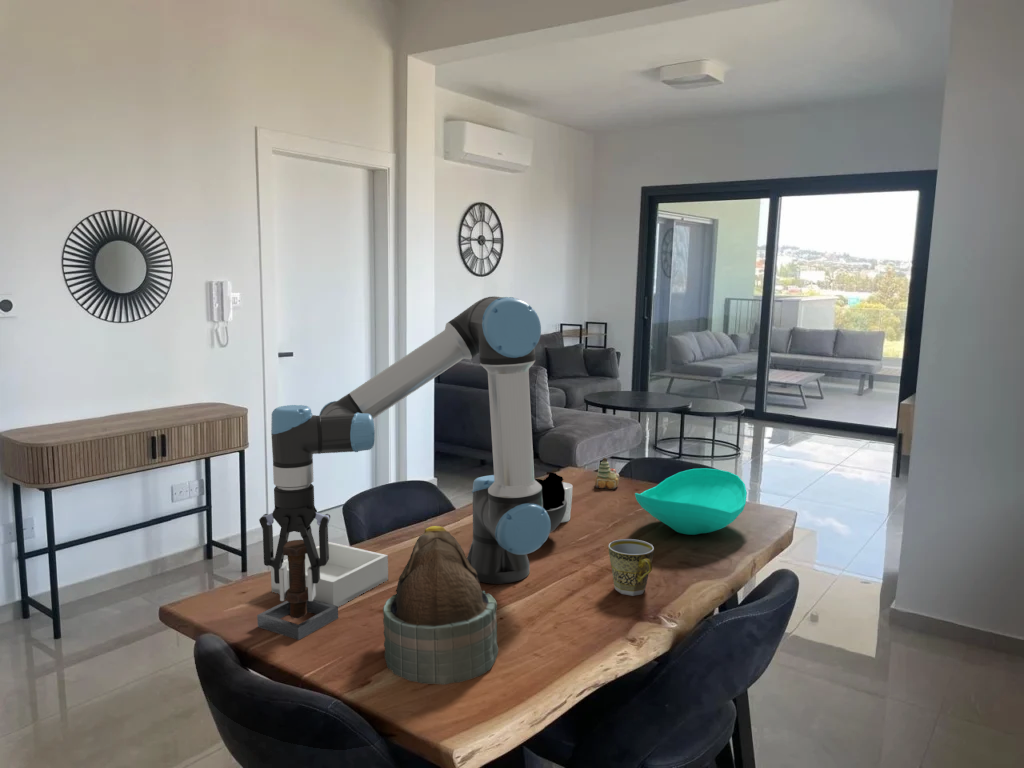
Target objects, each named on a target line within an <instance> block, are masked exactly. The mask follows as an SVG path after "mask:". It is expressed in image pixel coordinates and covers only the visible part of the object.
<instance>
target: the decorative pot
mask: <svg viewBox="0 0 1024 768" xmlns="http://www.w3.org/2000/svg"><path fill="white" fill-rule="evenodd" d="M477 575H478V574H477V572H476V570H475V569H474V568H473V567H472V566H471V564H470V563H469V561H468V559H467V556H466V554H465V552H464V550H463V548H462V546H461V544H459V542H458V540H457V539H456V538H455V536H453V535H452V534H451V533H450V532H449V531H448V530H446V528H445V527H443V526H439V525H431V526H429V527H426V528H424V532H423V534H421V535H420V536H419V537H418V538H417V539H416V542H415V544H414V546H413V548H412V551H411V554H410V555H409V559H408V561H407V563H406V565H405V566H404V568H403V571H402V572H401V574H400V575H399V578H398V580H397V581H398V582H397V586H396V593H395V594H393V595H392V596H391V597H389V598H388V599H386V601H385V603H384V605H383V607H382V614H383V618H382V619H383V628H384V629H383V635H384V642H383V647H384V650H385V651H384V660H385V662H386V667H387V668H388V670H390V671H391V672H392V673H393V675H396V676H397V677H401V678H403V679H405V680H407V681H409V682H413V683H414V682H417V683H418V684H419V683H420V684H427V685H434V684H435V685H448V684H453V683H462V682H465V681H468V680H472V679H475V678H477V677H480V676H482V675H485V673H488V672H489V671H490V670H491V669H492V667H493V665H494V664H495V662H496V659H497V657H498V654H499V647H498V633H497V630H498V623H497V622H498V621H497V610H498V609H497V608H498V602H497V600H496V599H495V597H493V595H492V594H490V593H489V592H488V593H486V591H485V590H482V587H481V585H480V583H481V582H479V580H478V577H477ZM487 671H488V672H487Z"/></svg>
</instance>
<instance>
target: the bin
mask: <svg viewBox="0 0 1024 768" xmlns="http://www.w3.org/2000/svg"><path fill="white" fill-rule="evenodd" d="M315 546H316V545H315ZM328 546H329V560H328V562H327V563H326V565H325V566H320V580H319V582H318V583H315V591H316V596H315V597H314V600H317V601H321V602H324V603H328V604H331V605H335V606H338V608H340V607H341V605H342V606H344V605H345V604H347V603H348V601H349V602H351V601H352V599H353V600H355V599H356V598H358V597H360V596H362V595H364V594H366V593H367V592H366V591H368V590H369V591H371V590H373V589H375V588H377V587H379V586H380V585H379V584H381V583H382V584H384V583H386V582H388V581H389V555H388V554H383V553H380V552H375V551H370V550H367V549H363V548H358V547H353V546H349V545H345V544H342V543H336V542H331V541H328ZM316 549H317V553H318V556H319V558H320V549H319V545H317V546H316ZM283 561H284V562H283V563H282V565H287V585H288V589H289V588H290V587H289V566H288V565H289V564H288V558H286V559H283ZM309 567H310V561H309V558H308V555H307V553H306V554H305V574H306V575H305V576H306V587H308V573H307V569H308V568H309ZM387 580H388V581H387ZM385 581H386V582H385ZM270 582H271V587H270V588H271V592H272V593H273V592H275V593H274V594H277V593H278V595H280V584H276V583H275V580H274V568H273V567H272V566H270ZM383 582H384V583H383ZM382 584H381V585H382ZM378 585H379V586H378ZM376 586H377V587H376ZM374 587H375V588H374ZM372 588H373V589H372ZM370 589H371V590H370ZM369 591H368V592H369ZM365 592H366V593H365ZM363 593H364V594H363ZM361 594H362V595H361ZM359 595H360V596H359ZM357 596H358V597H357ZM355 597H356V598H355ZM354 598H355V599H354ZM350 600H351V601H350ZM339 606H340V607H339Z"/></svg>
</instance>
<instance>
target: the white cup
mask: <svg viewBox="0 0 1024 768" xmlns="http://www.w3.org/2000/svg"><path fill="white" fill-rule="evenodd" d="M562 483H563V487H564V490H565V500H566V502H567V506H566V511H565V514H564V517H563V519H562V521H561V522H560V524H561V523H566V522H569V521H570V520H571V509H572V503H573V502H572V500H573V484H571V483H569V482H565V481H564V482H563V481H562Z"/></svg>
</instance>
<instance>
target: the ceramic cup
mask: <svg viewBox="0 0 1024 768" xmlns="http://www.w3.org/2000/svg"><path fill="white" fill-rule="evenodd" d="M654 552H655V547H654V546H653V544H652V543H649V542H647V541H644V540H641V539H640V540H639V539H634V538H633V539H632V538H624V539H617V540H613V541H611V542H610V543H609V544H608V553H609V554H608V555H609V562H610V566H611V573H612V579H613V585H614V586H613V587H614V589H615V591H617V592H618V593H619V594H621V595H626V596H631V597H635V596H639V595H644V592H645V590H646V587H647V584H648V578H649V574H651V572H652V571H653V563H652V562H653V558H654Z"/></svg>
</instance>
